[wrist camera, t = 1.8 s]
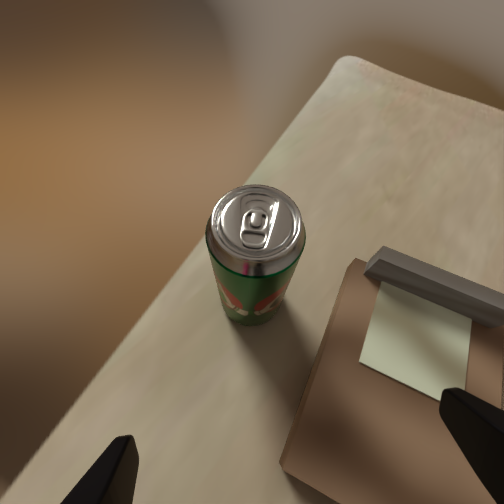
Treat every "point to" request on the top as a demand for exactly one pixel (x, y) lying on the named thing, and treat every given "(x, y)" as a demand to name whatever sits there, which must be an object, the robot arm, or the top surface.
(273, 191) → the soda can
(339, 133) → the top surface
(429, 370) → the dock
